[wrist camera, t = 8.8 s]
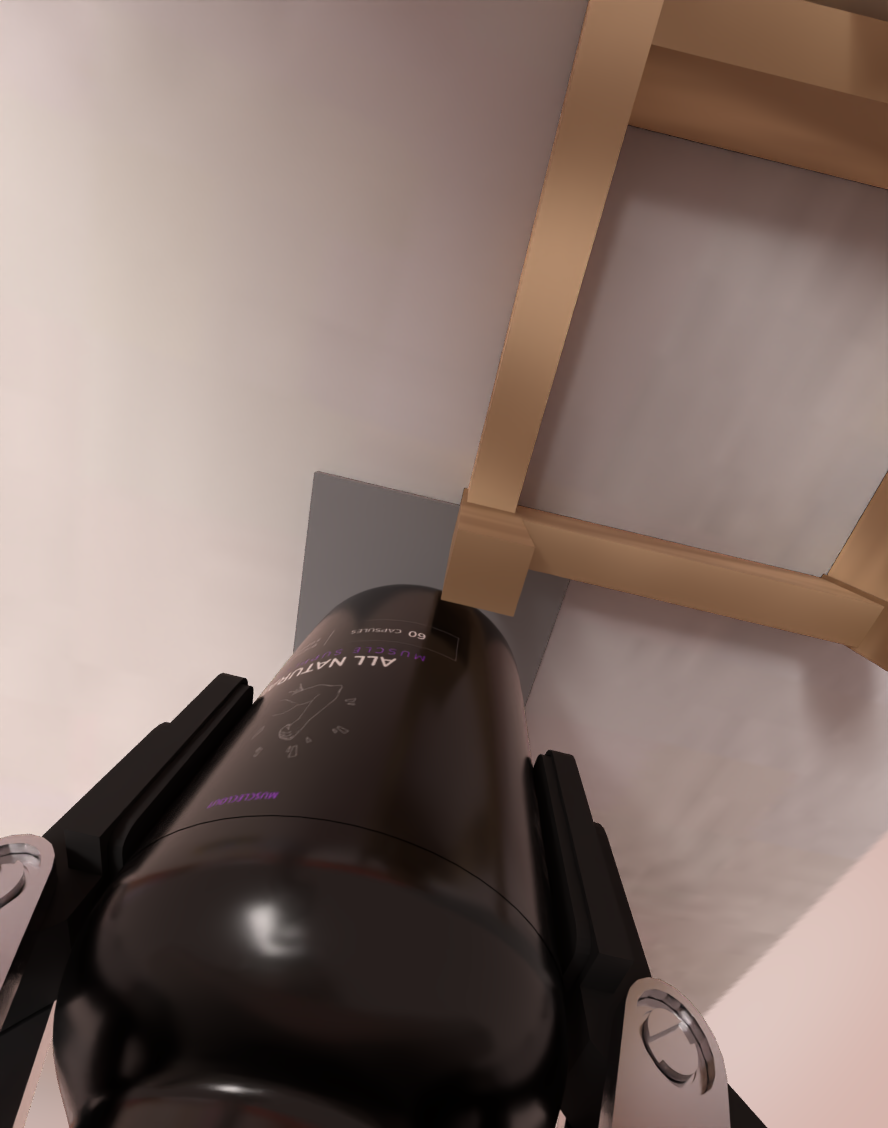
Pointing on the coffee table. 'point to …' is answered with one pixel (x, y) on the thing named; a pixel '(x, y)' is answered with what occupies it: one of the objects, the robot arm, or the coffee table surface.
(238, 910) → the supplement bottle
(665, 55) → the rack
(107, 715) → the coffee table surface
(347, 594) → the mat
